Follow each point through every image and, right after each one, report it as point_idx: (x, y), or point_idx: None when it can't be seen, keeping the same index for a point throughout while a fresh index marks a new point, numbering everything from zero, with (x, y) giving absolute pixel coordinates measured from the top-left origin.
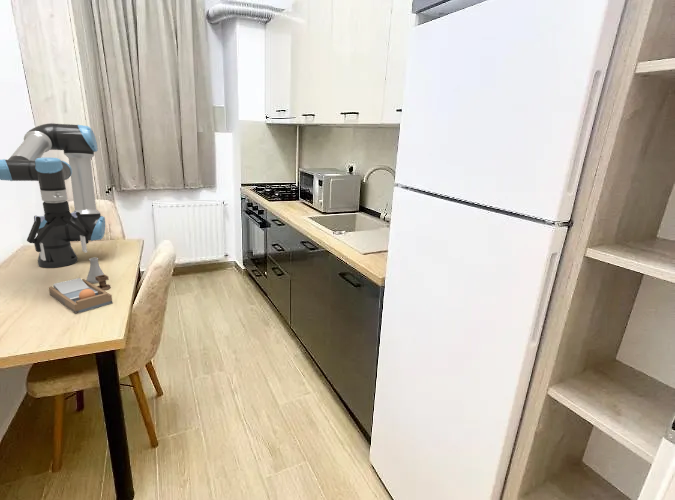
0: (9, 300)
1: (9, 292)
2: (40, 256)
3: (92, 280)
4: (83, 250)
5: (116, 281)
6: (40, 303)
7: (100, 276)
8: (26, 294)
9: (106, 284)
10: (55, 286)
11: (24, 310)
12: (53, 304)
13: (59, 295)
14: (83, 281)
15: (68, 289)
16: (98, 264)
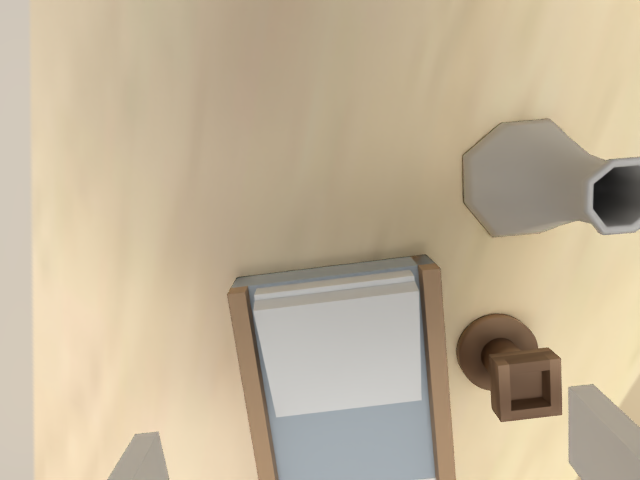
0: (50, 221)
1: (50, 67)
2: (123, 460)
3: (489, 220)
4: (577, 432)
5: (599, 277)
6: (180, 369)
7: (527, 369)
8: (132, 175)
9: (527, 333)
10: (259, 339)
11: (108, 416)
12: (230, 422)
13: (256, 459)
14: (424, 307)
15: (317, 387)
16: (612, 205)
